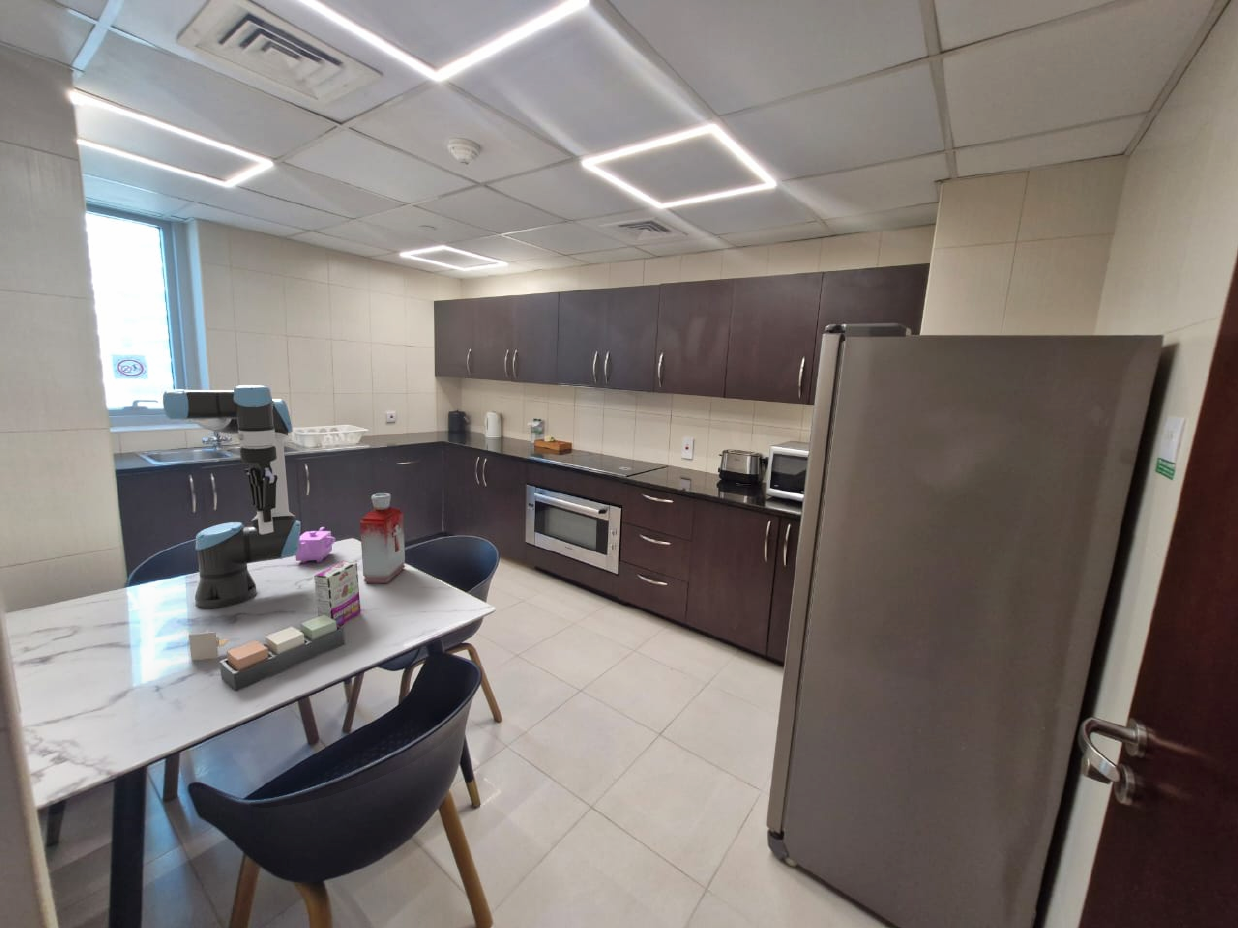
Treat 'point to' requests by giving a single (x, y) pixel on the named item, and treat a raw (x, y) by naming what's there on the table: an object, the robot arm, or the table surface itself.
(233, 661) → the terracotta key
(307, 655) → the grey compartment tray
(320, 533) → the teapot
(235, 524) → the robot arm
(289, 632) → the ivory key
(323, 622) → the sage key
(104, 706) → the table surface
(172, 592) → the table surface
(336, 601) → the candy bar box
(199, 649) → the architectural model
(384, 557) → the bottle
